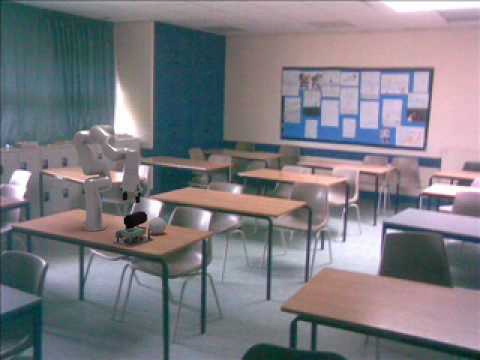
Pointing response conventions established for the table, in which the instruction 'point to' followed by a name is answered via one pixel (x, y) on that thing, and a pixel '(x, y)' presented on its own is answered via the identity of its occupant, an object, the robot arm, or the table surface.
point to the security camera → (135, 219)
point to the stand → (120, 233)
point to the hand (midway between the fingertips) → (131, 201)
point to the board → (133, 232)
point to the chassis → (133, 239)
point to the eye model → (157, 225)
